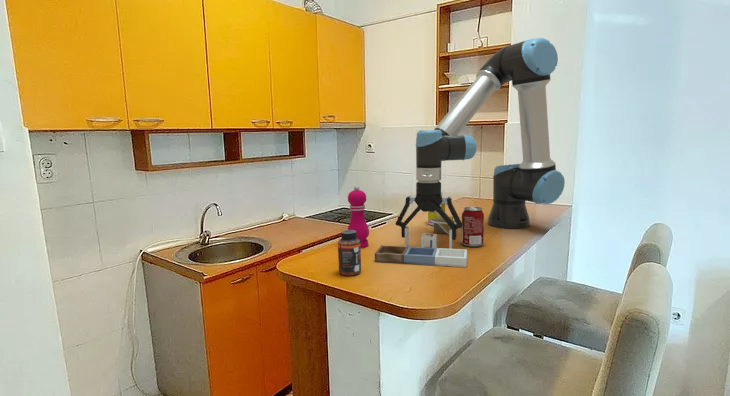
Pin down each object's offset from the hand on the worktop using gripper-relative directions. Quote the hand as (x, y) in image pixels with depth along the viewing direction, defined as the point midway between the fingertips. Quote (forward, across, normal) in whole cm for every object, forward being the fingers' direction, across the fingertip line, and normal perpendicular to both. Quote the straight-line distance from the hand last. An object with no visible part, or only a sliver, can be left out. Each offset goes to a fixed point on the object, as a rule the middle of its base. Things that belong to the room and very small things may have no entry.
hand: (428, 248), depth 127 cm
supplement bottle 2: (0, -1, +34) cm, 34 cm away
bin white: (0, +8, -11) cm, 13 cm away
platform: (+1, +3, +20) cm, 21 cm away
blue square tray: (0, -1, -11) cm, 11 cm away
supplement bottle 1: (+1, -18, -25) cm, 31 cm away
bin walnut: (0, -9, -11) cm, 14 cm away
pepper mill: (0, -23, 0) cm, 23 cm away
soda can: (0, +13, +7) cm, 15 cm away
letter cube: (0, 0, 0) cm, 0 cm away
